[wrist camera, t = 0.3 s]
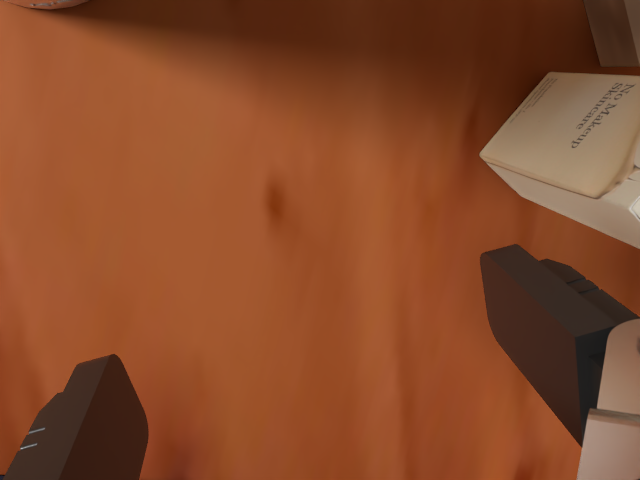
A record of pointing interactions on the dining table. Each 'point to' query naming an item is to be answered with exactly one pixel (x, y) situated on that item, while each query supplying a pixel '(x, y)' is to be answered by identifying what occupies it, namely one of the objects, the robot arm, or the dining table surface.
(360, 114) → the dining table surface
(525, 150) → the skincare box
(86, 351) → the dining table surface
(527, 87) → the dining table surface
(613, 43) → the wooden compartment tray
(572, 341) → the robot arm
